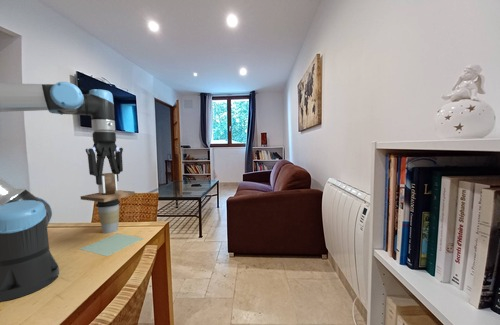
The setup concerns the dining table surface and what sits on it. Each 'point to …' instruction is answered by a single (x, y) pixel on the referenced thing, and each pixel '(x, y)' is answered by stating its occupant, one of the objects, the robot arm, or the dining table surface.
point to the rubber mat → (111, 244)
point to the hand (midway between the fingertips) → (108, 191)
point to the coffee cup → (109, 215)
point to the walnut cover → (108, 191)
